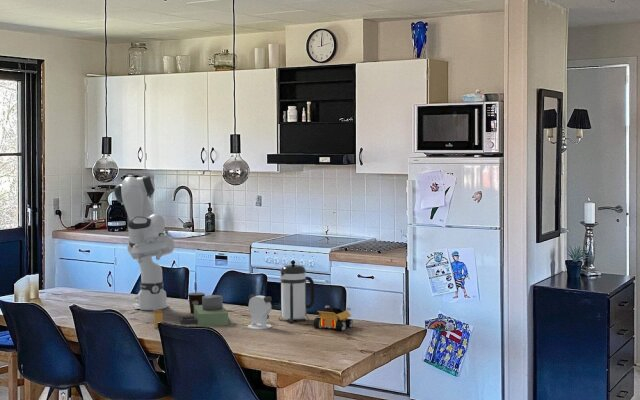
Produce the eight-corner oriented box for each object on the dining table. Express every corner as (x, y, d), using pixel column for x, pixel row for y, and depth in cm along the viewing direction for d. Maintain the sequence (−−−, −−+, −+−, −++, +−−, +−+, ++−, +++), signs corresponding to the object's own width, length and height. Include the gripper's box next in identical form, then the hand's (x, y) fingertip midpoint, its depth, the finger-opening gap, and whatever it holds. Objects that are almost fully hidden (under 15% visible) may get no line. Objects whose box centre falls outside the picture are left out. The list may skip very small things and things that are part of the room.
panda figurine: (277, 326, 403) (276, 295, 402) (262, 330, 393) (262, 298, 392) (257, 323, 409) (257, 292, 408) (242, 327, 400) (242, 296, 399)
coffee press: (307, 323, 407) (306, 262, 405) (275, 322, 410) (274, 261, 408) (314, 316, 424) (314, 258, 422) (283, 316, 427) (283, 257, 425)
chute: (153, 326, 404) (153, 310, 403) (162, 326, 405) (162, 309, 404) (154, 328, 400) (154, 311, 399) (163, 327, 401) (162, 311, 400)
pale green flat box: (178, 318, 424) (177, 294, 423) (221, 315, 430) (221, 292, 429) (182, 327, 401) (182, 302, 400) (228, 324, 406) (227, 300, 406)
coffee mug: (185, 313, 436) (184, 294, 436) (195, 310, 444) (194, 291, 443) (203, 315, 431) (203, 296, 430) (213, 312, 438) (212, 293, 438)
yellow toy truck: (354, 326, 400) (354, 304, 399) (339, 332, 387) (339, 310, 386) (327, 323, 408) (327, 302, 407) (311, 329, 395) (311, 307, 394)
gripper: (131, 240, 417) (126, 260, 406) (169, 232, 413) (165, 252, 403) (136, 248, 421) (131, 268, 411) (174, 241, 417) (170, 261, 407)
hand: (148, 260), depth 407 cm, fingers open, 8 cm apart
